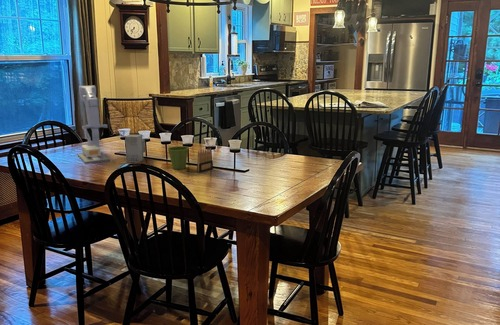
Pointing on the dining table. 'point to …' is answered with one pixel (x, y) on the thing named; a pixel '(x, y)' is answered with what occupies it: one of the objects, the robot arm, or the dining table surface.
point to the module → (93, 152)
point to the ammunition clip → (204, 161)
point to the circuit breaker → (134, 148)
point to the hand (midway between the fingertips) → (96, 140)
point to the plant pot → (178, 156)
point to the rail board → (91, 159)
